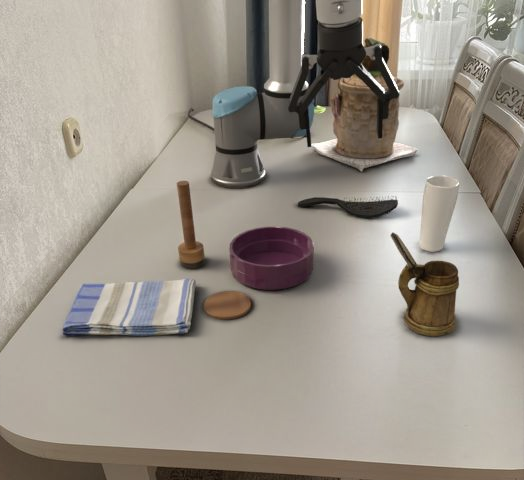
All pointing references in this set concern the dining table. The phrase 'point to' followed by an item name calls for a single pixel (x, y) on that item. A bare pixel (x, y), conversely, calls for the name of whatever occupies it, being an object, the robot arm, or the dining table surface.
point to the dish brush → (188, 231)
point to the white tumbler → (437, 211)
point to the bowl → (271, 257)
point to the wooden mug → (428, 293)
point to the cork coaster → (227, 305)
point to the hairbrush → (356, 206)
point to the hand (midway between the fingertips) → (344, 139)
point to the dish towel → (132, 308)
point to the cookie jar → (364, 121)
